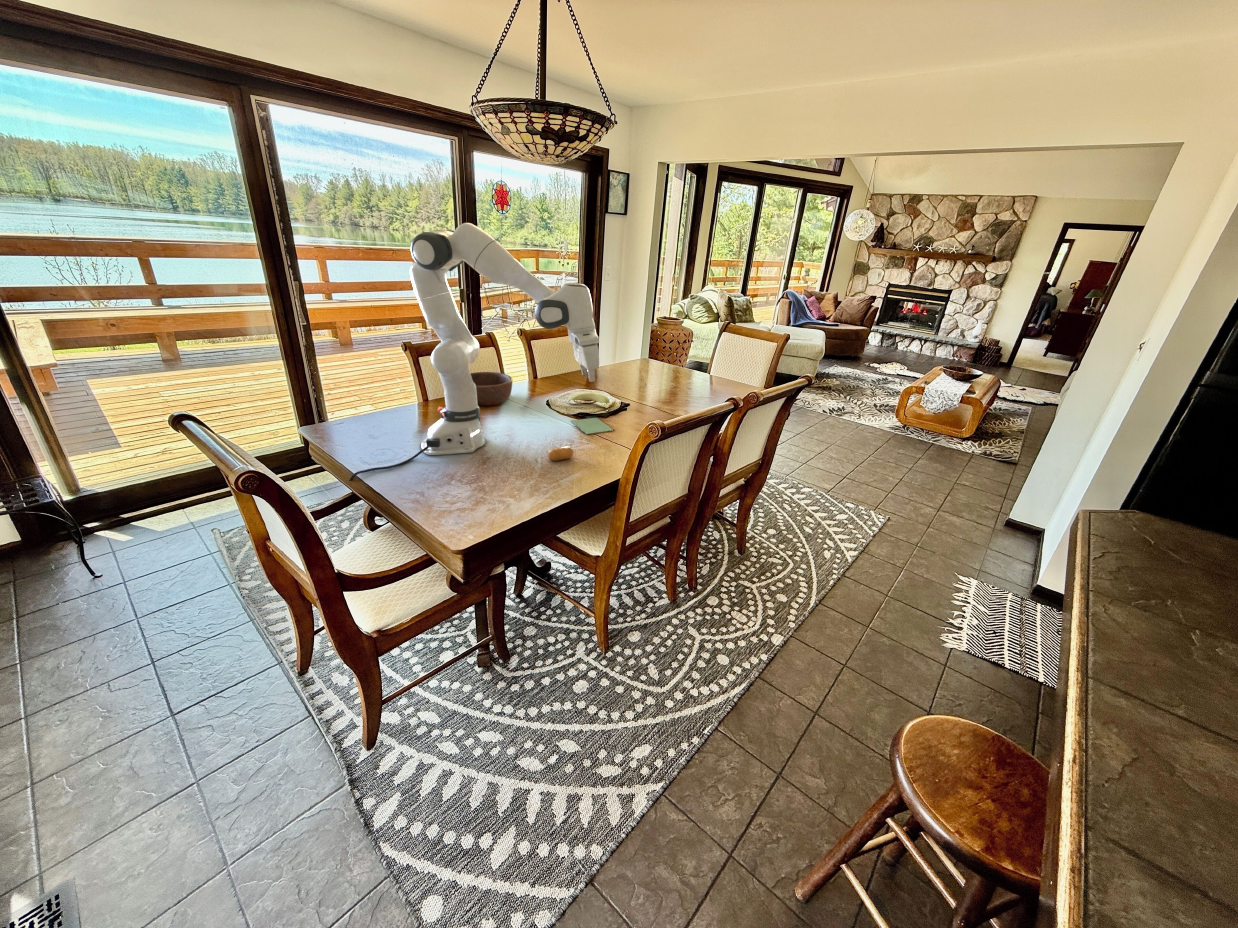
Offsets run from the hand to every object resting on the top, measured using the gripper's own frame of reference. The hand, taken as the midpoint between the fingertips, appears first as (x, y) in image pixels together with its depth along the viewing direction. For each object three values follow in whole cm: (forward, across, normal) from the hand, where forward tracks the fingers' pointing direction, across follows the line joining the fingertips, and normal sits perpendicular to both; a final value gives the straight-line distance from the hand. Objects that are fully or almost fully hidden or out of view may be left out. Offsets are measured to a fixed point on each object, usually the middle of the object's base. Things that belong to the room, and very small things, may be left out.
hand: (588, 378), depth 159 cm
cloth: (+28, -34, +6) cm, 44 cm away
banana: (+27, -57, +12) cm, 65 cm away
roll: (+28, -4, -13) cm, 31 cm away
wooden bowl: (+19, -75, -34) cm, 85 cm away
